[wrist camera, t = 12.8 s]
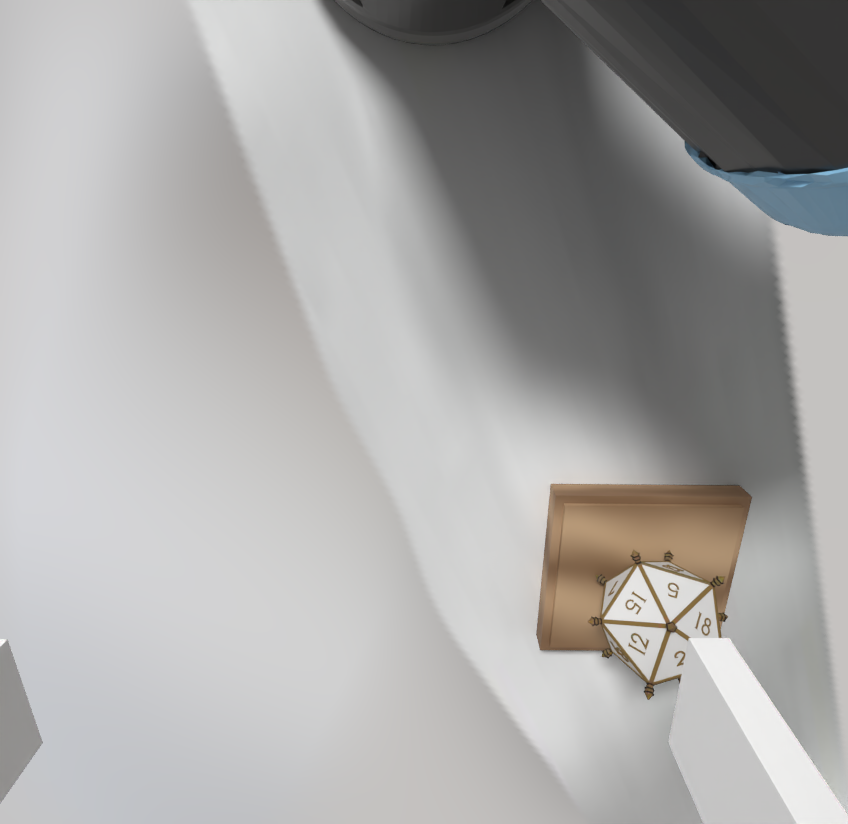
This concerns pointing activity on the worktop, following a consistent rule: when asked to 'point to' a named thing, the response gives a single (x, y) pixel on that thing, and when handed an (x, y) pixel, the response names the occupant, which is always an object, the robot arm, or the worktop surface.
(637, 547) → the plate
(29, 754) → the robot arm
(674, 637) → the game die
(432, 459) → the worktop surface
